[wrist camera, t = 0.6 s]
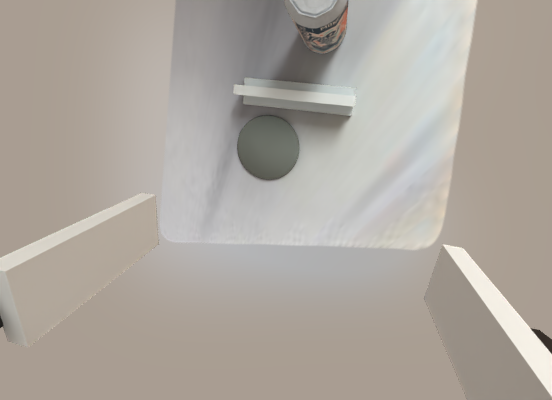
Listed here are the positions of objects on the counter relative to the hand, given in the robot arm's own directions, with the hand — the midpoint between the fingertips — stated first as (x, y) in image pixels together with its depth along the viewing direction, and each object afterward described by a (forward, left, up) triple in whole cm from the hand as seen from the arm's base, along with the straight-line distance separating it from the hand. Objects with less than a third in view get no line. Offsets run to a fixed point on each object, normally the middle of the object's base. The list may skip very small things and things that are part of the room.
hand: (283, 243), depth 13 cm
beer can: (-14, -2, -24) cm, 27 cm away
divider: (-7, -4, -23) cm, 25 cm away
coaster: (0, -7, -23) cm, 24 cm away
